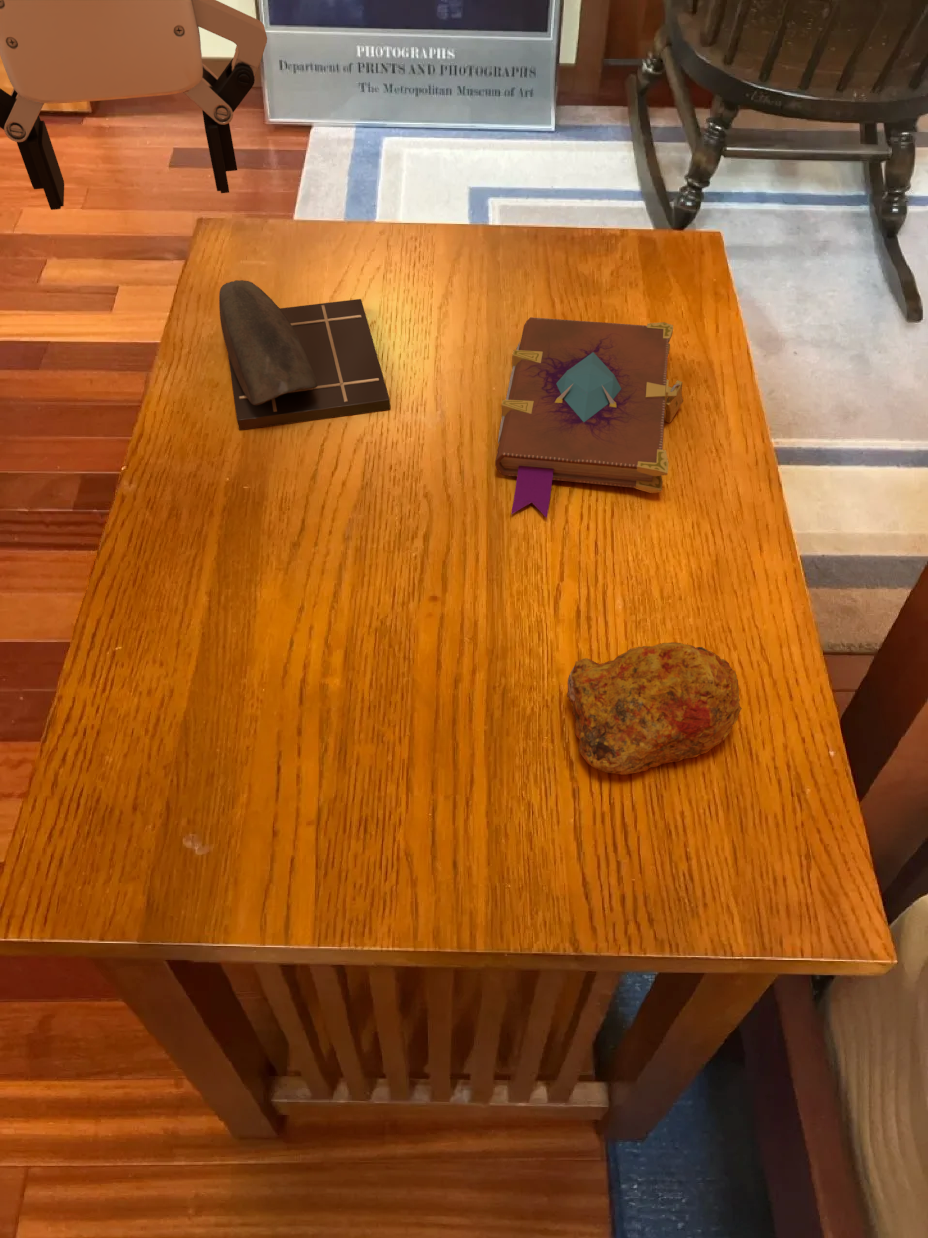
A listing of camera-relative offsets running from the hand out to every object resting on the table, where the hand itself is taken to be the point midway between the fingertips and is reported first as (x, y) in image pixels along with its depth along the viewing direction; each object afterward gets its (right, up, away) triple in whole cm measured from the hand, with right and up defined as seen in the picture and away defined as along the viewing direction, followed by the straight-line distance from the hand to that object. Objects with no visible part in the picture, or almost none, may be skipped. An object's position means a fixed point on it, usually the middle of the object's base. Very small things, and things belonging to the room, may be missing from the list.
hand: (141, 189), depth 56 cm
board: (+4, -1, +34) cm, 35 cm away
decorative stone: (0, -1, +33) cm, 33 cm away
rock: (+33, -33, +12) cm, 48 cm away
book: (+31, -8, +30) cm, 44 cm away
